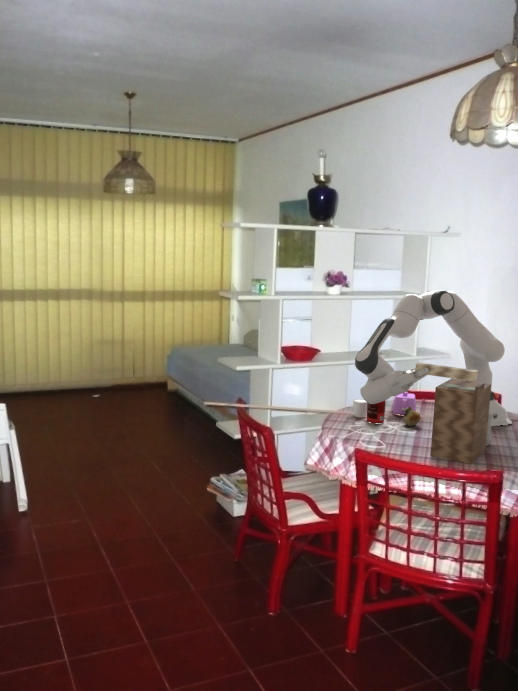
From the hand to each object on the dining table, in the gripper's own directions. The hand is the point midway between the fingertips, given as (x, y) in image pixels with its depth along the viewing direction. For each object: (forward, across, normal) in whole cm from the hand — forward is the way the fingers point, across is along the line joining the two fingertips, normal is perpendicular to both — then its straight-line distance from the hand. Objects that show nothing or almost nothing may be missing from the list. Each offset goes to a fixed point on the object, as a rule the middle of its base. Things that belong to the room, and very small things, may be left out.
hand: (431, 368), depth 251 cm
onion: (-30, +30, +20) cm, 47 cm away
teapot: (-39, +48, +15) cm, 63 cm away
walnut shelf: (-6, +5, +33) cm, 34 cm away
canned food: (-43, +26, +12) cm, 51 cm away
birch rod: (+4, 0, +5) cm, 6 cm away
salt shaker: (-2, +22, +36) cm, 42 cm away
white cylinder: (-51, +31, +8) cm, 60 cm away
